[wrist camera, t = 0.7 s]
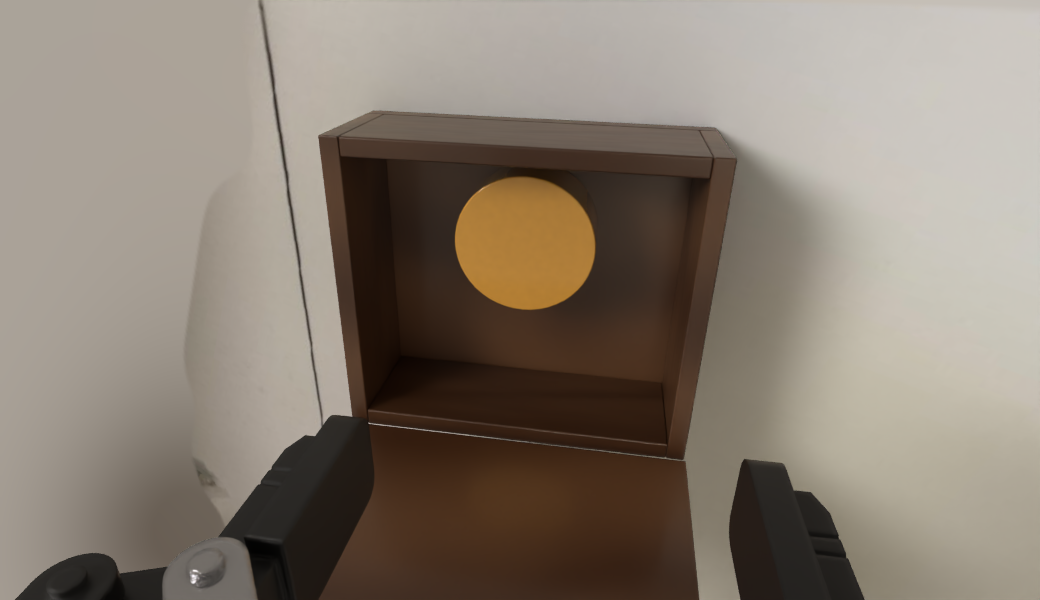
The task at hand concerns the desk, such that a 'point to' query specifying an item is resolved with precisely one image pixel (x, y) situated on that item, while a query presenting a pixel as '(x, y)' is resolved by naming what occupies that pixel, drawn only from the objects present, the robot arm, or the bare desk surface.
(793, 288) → the desk surface
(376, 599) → the lid
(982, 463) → the desk surface
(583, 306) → the wooden box
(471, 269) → the golden round puck
